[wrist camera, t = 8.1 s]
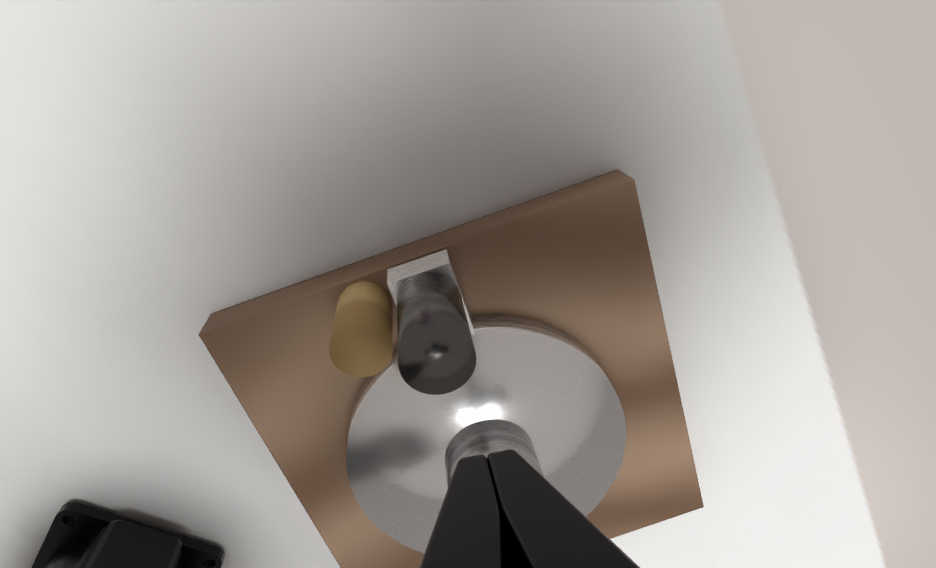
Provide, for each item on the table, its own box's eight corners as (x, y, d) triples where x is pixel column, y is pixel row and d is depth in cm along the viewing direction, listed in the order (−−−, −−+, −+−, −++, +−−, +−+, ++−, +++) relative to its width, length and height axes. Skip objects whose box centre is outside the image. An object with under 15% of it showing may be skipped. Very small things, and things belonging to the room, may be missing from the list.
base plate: (687, 482, 27) (741, 565, 23) (373, 589, 27) (370, 690, 23) (617, 169, 21) (674, 206, 16) (210, 314, 21) (167, 385, 17)
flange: (636, 488, 24) (690, 591, 20) (404, 566, 25) (407, 684, 20) (564, 208, 19) (616, 263, 15) (270, 309, 19) (235, 393, 15)
